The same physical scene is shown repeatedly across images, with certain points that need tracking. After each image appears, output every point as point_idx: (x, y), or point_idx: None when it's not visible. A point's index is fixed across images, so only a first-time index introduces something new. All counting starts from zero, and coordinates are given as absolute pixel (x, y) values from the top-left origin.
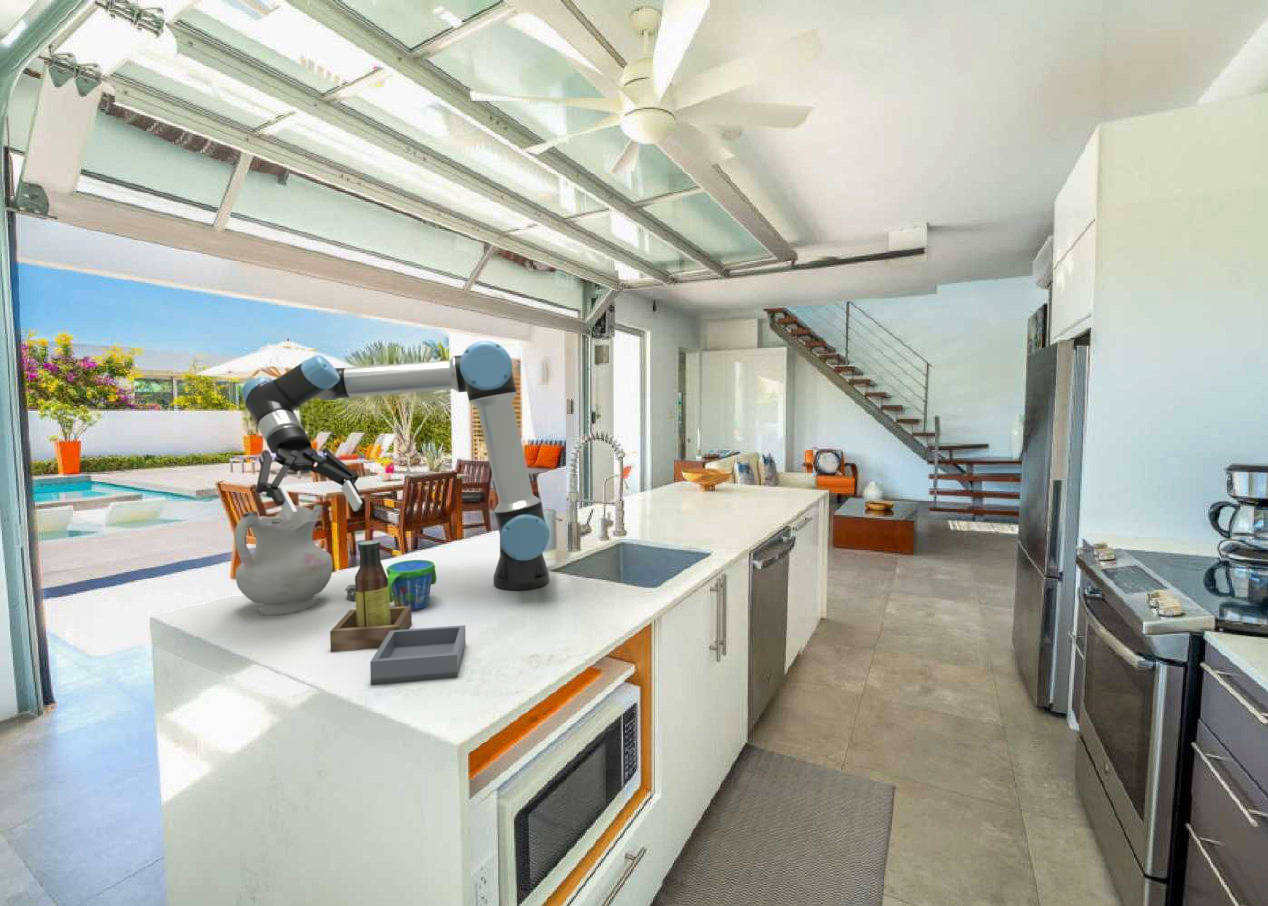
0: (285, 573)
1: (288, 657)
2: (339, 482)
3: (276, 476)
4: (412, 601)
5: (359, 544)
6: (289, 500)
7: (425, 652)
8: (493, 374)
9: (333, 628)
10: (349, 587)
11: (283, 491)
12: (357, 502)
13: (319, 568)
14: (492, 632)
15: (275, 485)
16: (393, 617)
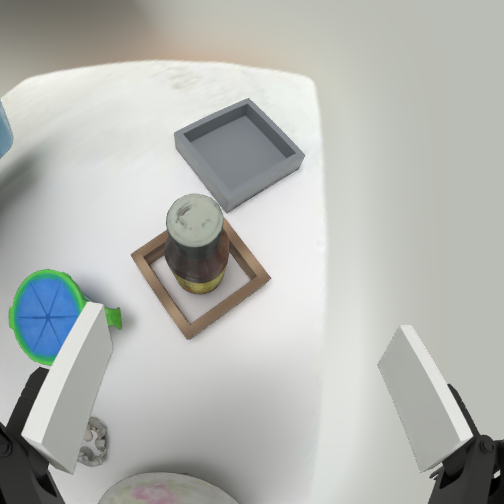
0: (214, 499)
1: (302, 319)
2: (60, 500)
3: (485, 499)
4: (90, 299)
5: (221, 227)
6: (430, 369)
7: (224, 159)
8: None
9: (260, 284)
10: (92, 463)
11: (457, 410)
12: (100, 319)
13: (146, 484)
14: (132, 146)
15: (484, 440)
16: (155, 275)
